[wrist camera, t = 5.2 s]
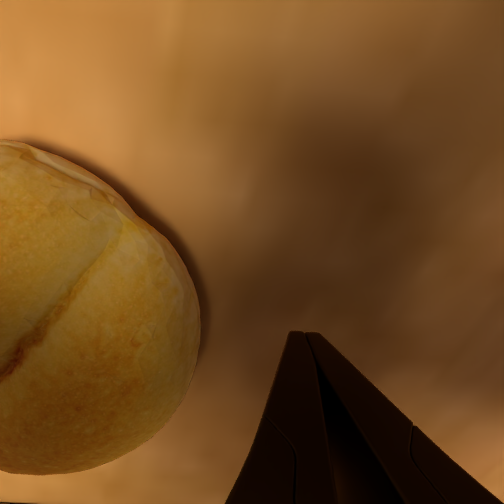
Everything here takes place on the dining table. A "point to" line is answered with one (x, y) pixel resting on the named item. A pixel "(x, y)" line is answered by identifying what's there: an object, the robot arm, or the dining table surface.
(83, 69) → the dining table surface
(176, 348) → the bread roll
